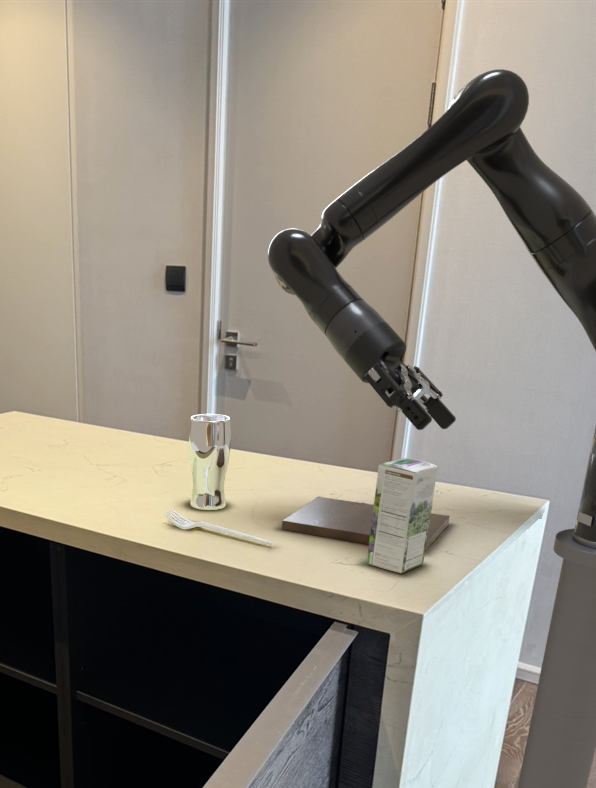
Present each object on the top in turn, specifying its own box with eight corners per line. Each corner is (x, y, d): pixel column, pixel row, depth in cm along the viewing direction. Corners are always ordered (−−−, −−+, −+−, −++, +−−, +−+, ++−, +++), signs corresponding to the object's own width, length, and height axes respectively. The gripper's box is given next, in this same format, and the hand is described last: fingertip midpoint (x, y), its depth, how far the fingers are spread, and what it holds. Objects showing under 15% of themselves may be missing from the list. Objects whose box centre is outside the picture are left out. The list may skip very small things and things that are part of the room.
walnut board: (448, 524, 138) (449, 515, 137) (423, 553, 125) (424, 543, 125) (317, 504, 148) (318, 496, 148) (281, 529, 135) (282, 520, 135)
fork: (266, 550, 126) (266, 538, 126) (161, 523, 138) (161, 512, 138) (278, 545, 129) (278, 533, 128) (173, 519, 141) (174, 507, 140)
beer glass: (206, 497, 152) (208, 412, 146) (236, 505, 148) (240, 417, 142) (179, 505, 148) (180, 417, 142) (209, 513, 143) (212, 423, 137)
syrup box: (388, 554, 125) (399, 455, 119) (425, 565, 121) (438, 463, 115) (365, 564, 121) (376, 462, 115) (403, 575, 117) (416, 470, 111)
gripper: (360, 316, 114) (439, 404, 109) (405, 324, 125) (478, 405, 120) (322, 359, 118) (396, 446, 114) (368, 363, 129) (438, 443, 124)
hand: (438, 425), depth 117 cm, fingers open, 8 cm apart
